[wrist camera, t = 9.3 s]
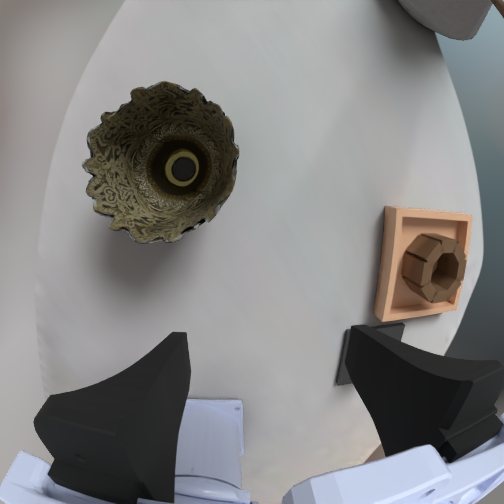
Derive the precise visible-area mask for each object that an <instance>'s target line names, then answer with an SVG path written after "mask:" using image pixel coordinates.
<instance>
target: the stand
mask: <svg viewBox="0 0 504 504" xmlns="http://www.w3.org/2000/svg"><path fill="white" fill-rule="evenodd" d="M404 327H405V324H403V323H396V324H389V325H382V326H374V327H371V328H374V329H376V330H378V331H380V332H382V333H384V334H386V335H388V336H390V337H392V338H394V339H397V340H399V341H401V339H402V335H403V331H404ZM350 331H351V329H347V330H346V334H345V340H344V346H343V351H342V357H341V362H340V367H339V372H338V377H337V381H336V383H337V385H344V384H351V383H352V381H351V379H350V376H349V374H348V371H347V368H346V365H345V358H346V353H347V348H348V342H349V337H350Z"/></svg>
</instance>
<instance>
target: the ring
mask: <svg viewBox="0 0 504 504" xmlns="http://www.w3.org/2000/svg"><path fill="white" fill-rule="evenodd" d="M406 251H407V253H404V256H403V265H402V272H401V274H402V275H404V276H403V277H402V278H403V280H404V281H405V282H406V284H407V285H408V287H409V288H410V289H411V290H412V291H413V292H415V293H416V294H418V295H419V296H421V297H422V298H424V299H425V300H427V301H428V302H429V303H432V304H434V303H440V302H446V301H447V298H448V299H450V298H451V297H452V296H453V294H454V293H455V292H456V291H457V289H458V288H459V287H460V285H461V282H460V281H463V279H464V273H465V267H466V261H467V260H465V258H466V255H465V253H464V251H463V249H462V247H461V244H460V242H458V241H457V240H455V239H452V238H449V237H445V236H442V235H439V234H436V233H421V235H417V237H416V238H415V239H414V240H413V241H412V243H411V244H410V245H409V246H408V247H407V248H406ZM437 260H438V261H437ZM436 261H437V268H436V270H435V271H434V272H433V273H432V269H433V265H434V264H435V262H436Z"/></svg>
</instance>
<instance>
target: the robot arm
mask: <svg viewBox="0 0 504 504" xmlns="http://www.w3.org/2000/svg"><path fill="white" fill-rule="evenodd" d="M345 365H346V368H347V371H348V374H349V376H350V379H351V381H352V383H353V385H354V386H355V388H356V390H357V392H358V394H359V395H360V397H361V399H362V401H363V402H364V404H365V406H366V408H367V410H368V411H369V413H370V415H371V417H372V419H373V421H374V424H375V427H376V429H377V432H378V434H379V437H380V440H381V443H382V446H383V449H384V453H385V456H386V457H385V458H382V459H379V460H375V461H372V462H368V463H364V464H361V465H357V466H353V467H348V468H344V469H340V470H335V471H330V472H327V473H324V474H320V475H317V476H313V477H310V478H308V479H306V480H304V481H302V482H300V483H298V484H296V485H294V486H293V487H292V488H291V489H290V490H289V491H288V492H287V494H286V495H285V496H284V497H283V499H282V504H475V503H476V502H478V501H479V500H480V499H482V498H483V497H484V496H485V495H487V494H488V493H489V492H490V491H492V490H493V489H494V488H496V487H497V486H498V485H499V484H500V483H502V482H503V481H504V413H503V414H502V415H501V416H500V417H499V418H497V416H496V415H495V414H496V413H497V408H496V407H495V406H494V404H495V402H496V400H497V399H498V397H499V395H500V393H501V391H502V389H503V387H504V365H502V364H501V363H500V362H498V361H497V360H485V361H484V360H481V361H480V360H478V361H477V360H464V359H456V358H450V357H445V356H441V355H437V354H433V353H430V352H427V351H423V350H420V349H418V348H415V347H413V346H410V345H408V344H405V343H403V342H401V341H399V340H397V339H394V338H392V337H390V336H388V335H386V334H384V333H382V332H380V331H378V330H376V329H374V328H371V327H369V326H366V325H354V326H351V331H350V337H349V342H348V348H347V353H346V358H345ZM190 376H191V366H190V359H189V351H188V342H187V333H186V332H172V333H171V334H169V335H168V336H167V337H166V338H165V339H164V340H163V341H162V342H161V343H160V344H158V345H157V346H156V347H155V348H154V349H153V350H151V351H150V352H149V353H148V354H147V355H145V356H144V357H143V358H141V359H140V360H139V361H137V362H136V363H135V364H133V365H132V366H130V367H129V368H127V369H125V370H124V371H122V372H120V373H118V374H116V375H115V376H112V377H110V378H108V379H106V380H104V381H101V382H99V383H97V384H94V385H91V386H88V387H85V388H82V389H79V390H75V391H71V392H66V393H60V394H55V395H50V396H49V398H48V399H47V401H46V402H45V403H44V405H43V406H42V408H41V409H40V411H39V412H38V414H37V415H36V417H35V418H34V427H35V430H36V432H37V434H38V436H39V438H40V439H41V441H42V442H43V443H44V445H45V446H46V448H47V449H48V451H49V452H50V453H51V455H52V456H53V457H54V462H53V463H52V466H51V465H50V464H49V463H48V462H46V461H45V460H43V459H41V458H38V457H36V456H34V455H32V454H30V453H27V452H25V451H23V450H20V452H19V453H18V455H17V457H16V458H15V460H14V462H13V463H12V465H11V467H10V469H9V471H8V472H7V474H6V476H5V478H4V480H3V481H2V484H1V485H0V500H1V501H2V502H3V503H5V504H259V503H258V502H255V501H250V492H249V491H244V490H242V473H241V456H242V455H243V454H244V443H243V403H242V401H241V400H203V399H187V396H188V392H189V386H190ZM236 407H239V408H236Z"/></svg>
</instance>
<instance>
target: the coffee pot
mask: <svg viewBox="0 0 504 504" xmlns="http://www.w3.org/2000/svg"><path fill="white" fill-rule="evenodd" d="M398 1H399V3H400V4H401V5H402V7H403V8H404V9H405V10H406V11H407V12H408V13H409V14H410V15H411V16H412V17H413V18H414V19H415V20H417V21H418V22H419V23H420V24H422V25H424V26H425V27H427V28H428V29H431V30H433V31H435V32H437V33H439V34H441V35H444V36H446V37H448V38H451V39H456V40H463V41H464V40H469V39H472V38H473V37H474V36H475V35H476V34H477V32H478V30H479V28H480V26H481V25H482V23H483V21H484V19H485V17H486V15H487V13H488V11H489V10H490V8H491V6H492V4H494V6H495V7H496V8H497V10H498V11H499V12H500V14H501V15H502V16H503V18H504V2H503V1H502V0H398Z"/></svg>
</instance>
